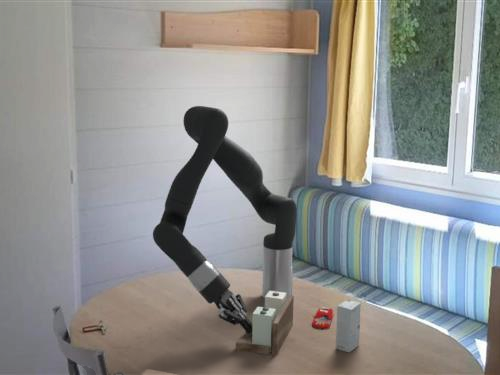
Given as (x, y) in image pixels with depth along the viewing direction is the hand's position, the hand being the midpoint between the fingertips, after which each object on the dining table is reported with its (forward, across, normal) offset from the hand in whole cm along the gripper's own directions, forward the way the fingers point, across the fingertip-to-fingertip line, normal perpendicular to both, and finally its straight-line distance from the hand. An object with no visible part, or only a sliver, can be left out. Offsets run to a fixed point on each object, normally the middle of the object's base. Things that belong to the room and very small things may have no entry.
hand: (252, 330), depth 167 cm
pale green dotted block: (+5, 0, +1) cm, 5 cm away
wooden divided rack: (+4, +6, +4) cm, 8 cm away
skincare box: (+21, +10, -13) cm, 26 cm away
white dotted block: (+5, +12, +1) cm, 13 cm away
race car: (+15, +22, -7) cm, 27 cm away
